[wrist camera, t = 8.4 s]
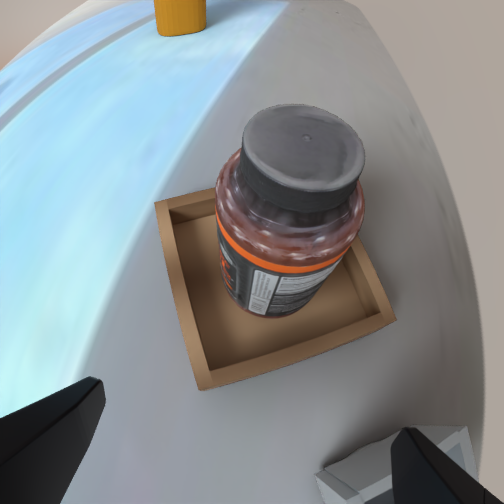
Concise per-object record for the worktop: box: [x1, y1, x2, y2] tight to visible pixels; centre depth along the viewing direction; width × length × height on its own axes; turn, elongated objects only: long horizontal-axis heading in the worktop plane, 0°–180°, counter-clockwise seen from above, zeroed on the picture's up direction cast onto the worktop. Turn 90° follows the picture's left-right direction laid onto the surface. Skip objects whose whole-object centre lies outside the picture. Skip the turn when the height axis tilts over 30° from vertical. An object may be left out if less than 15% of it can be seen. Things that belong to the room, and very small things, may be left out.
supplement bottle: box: [215, 104, 365, 319], centre depth 14 cm, size 6×6×11 cm
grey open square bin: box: [314, 425, 479, 504], centre depth 11 cm, size 7×7×6 cm
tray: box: [154, 188, 397, 391], centre depth 19 cm, size 12×12×2 cm
